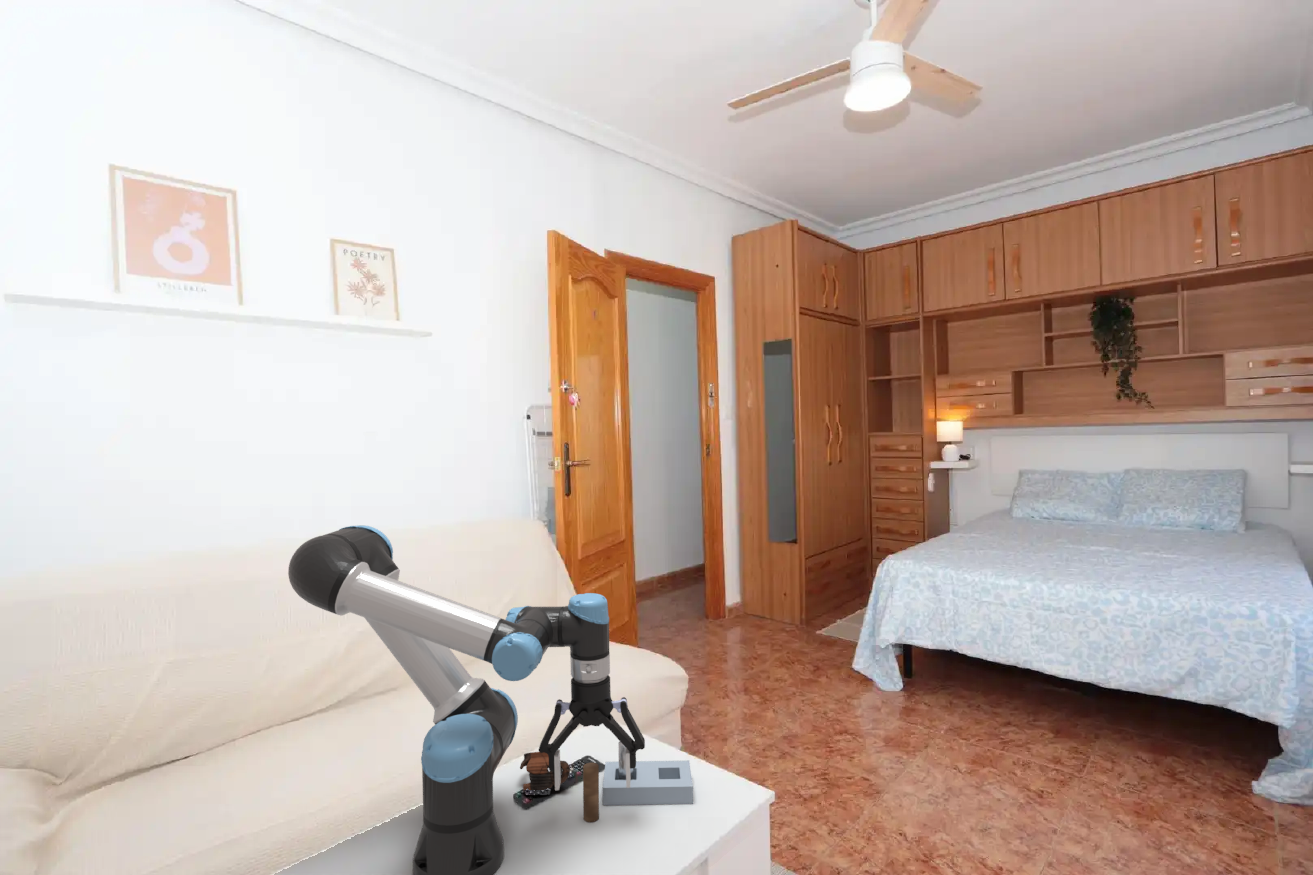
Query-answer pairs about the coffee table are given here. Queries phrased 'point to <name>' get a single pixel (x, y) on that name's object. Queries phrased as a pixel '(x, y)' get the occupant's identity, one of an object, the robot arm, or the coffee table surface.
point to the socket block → (649, 784)
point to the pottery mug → (542, 771)
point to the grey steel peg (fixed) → (623, 763)
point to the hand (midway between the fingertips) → (593, 785)
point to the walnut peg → (591, 792)
